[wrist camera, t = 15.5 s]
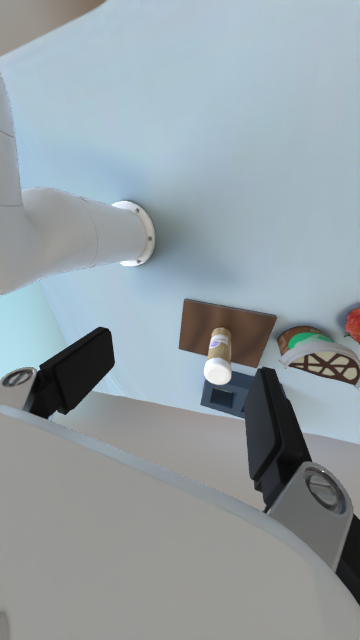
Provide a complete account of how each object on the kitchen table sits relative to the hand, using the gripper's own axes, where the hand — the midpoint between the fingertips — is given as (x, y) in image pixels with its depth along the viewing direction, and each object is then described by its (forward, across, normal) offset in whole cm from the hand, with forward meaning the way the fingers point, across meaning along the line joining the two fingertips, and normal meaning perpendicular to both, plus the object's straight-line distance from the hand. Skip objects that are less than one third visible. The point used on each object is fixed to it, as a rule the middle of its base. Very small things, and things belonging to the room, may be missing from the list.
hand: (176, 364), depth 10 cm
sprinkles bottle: (+27, -4, +13) cm, 31 cm away
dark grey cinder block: (+28, -12, +29) cm, 42 cm away
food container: (+28, -21, +9) cm, 37 cm away
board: (+28, -4, +13) cm, 31 cm away
